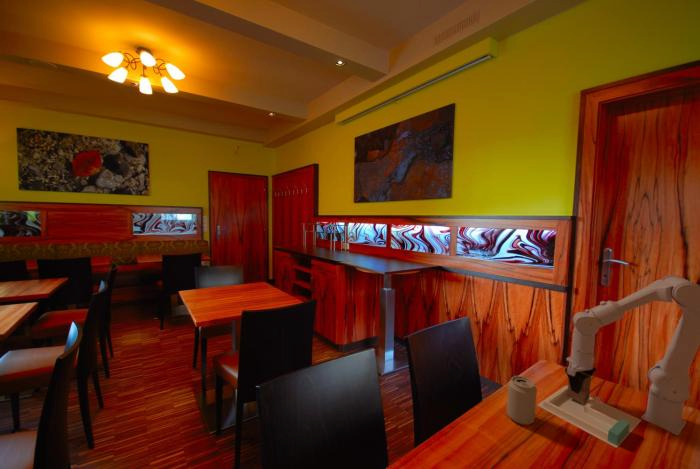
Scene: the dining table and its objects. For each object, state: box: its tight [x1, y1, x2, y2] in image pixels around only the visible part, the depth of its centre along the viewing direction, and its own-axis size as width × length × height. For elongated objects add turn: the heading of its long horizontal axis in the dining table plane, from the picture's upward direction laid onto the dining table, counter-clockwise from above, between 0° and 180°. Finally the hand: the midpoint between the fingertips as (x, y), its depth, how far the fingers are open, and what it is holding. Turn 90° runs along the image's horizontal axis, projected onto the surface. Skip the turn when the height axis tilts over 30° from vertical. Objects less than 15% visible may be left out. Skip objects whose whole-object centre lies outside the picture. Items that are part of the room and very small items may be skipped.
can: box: [506, 375, 538, 426], centre depth 94 cm, size 8×8×12 cm
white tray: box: [536, 384, 642, 449], centre depth 97 cm, size 20×20×4 cm
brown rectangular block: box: [567, 371, 592, 403], centre depth 102 cm, size 4×4×8 cm
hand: (578, 389), depth 102 cm, fingers closed on brown rectangular block, 4 cm apart
